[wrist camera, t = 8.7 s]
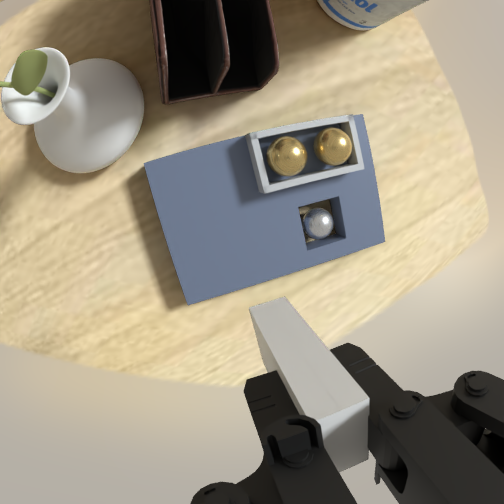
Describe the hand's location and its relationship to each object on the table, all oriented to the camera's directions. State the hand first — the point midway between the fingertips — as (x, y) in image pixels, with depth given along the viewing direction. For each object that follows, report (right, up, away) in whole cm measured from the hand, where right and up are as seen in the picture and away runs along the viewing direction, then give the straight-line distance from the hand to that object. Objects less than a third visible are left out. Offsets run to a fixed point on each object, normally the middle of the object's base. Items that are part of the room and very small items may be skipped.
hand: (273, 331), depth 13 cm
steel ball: (+6, +6, +20) cm, 21 cm away
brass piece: (+2, +12, +15) cm, 19 cm away
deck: (+1, +8, +20) cm, 22 cm away
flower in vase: (-17, +17, +14) cm, 28 cm away
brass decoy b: (+7, +13, +15) cm, 21 cm away
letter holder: (-6, +28, +14) cm, 32 cm away
